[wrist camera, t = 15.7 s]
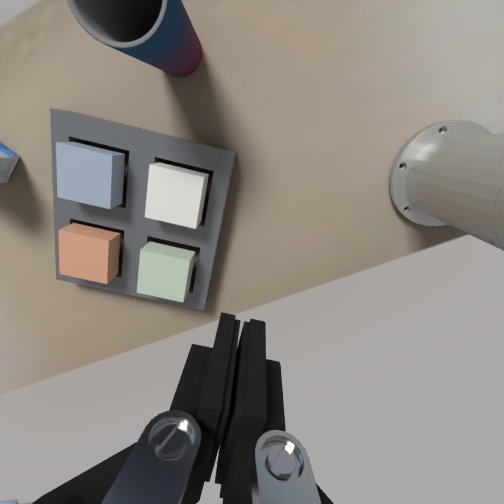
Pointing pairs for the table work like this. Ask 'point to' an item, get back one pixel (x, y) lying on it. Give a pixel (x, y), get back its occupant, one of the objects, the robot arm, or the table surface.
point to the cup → (143, 31)
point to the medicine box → (7, 163)
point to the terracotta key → (88, 253)
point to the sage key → (165, 271)
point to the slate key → (89, 174)
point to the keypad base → (144, 200)
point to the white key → (175, 194)
